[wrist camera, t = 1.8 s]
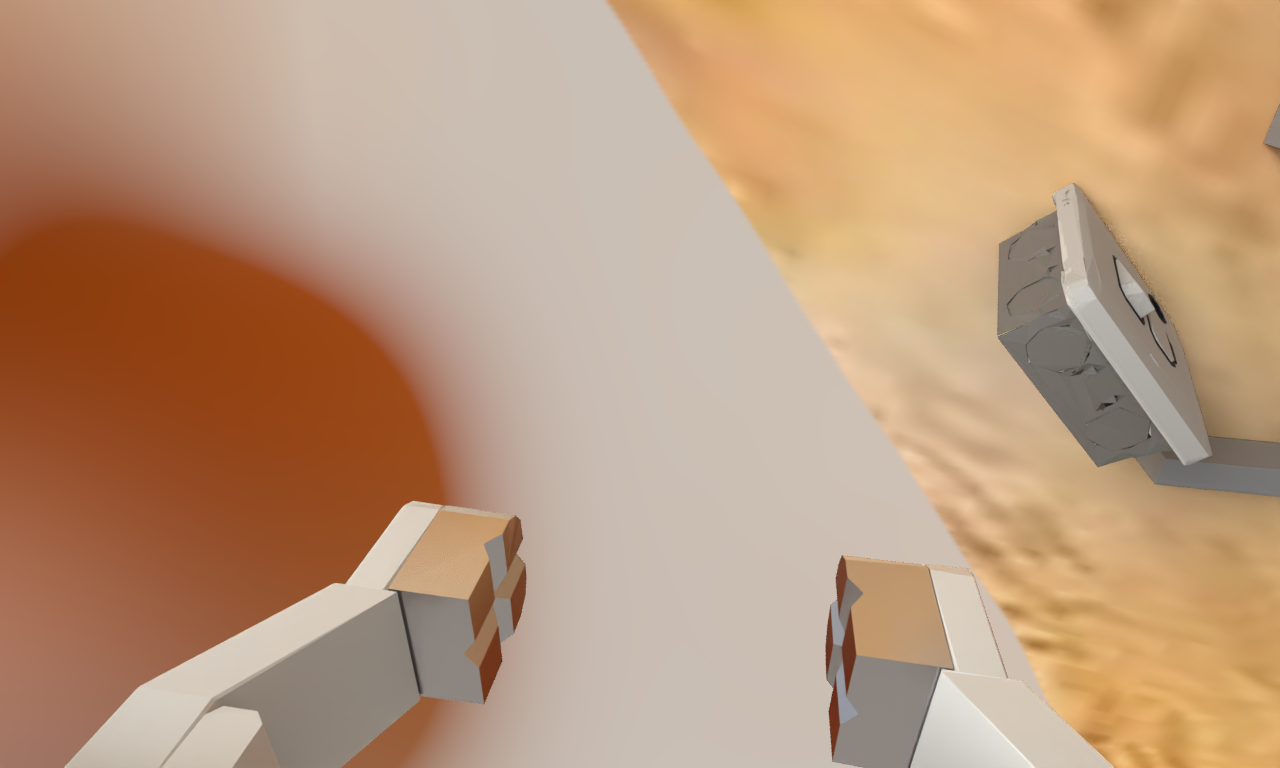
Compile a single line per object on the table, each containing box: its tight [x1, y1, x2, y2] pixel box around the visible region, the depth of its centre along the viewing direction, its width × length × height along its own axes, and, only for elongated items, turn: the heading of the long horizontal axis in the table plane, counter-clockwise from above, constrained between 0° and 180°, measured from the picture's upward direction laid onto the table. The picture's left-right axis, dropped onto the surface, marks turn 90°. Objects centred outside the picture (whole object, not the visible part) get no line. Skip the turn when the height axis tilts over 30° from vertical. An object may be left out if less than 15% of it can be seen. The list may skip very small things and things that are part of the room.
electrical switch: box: [997, 183, 1212, 467], centre depth 30 cm, size 9×5×9 cm, turn 43°
